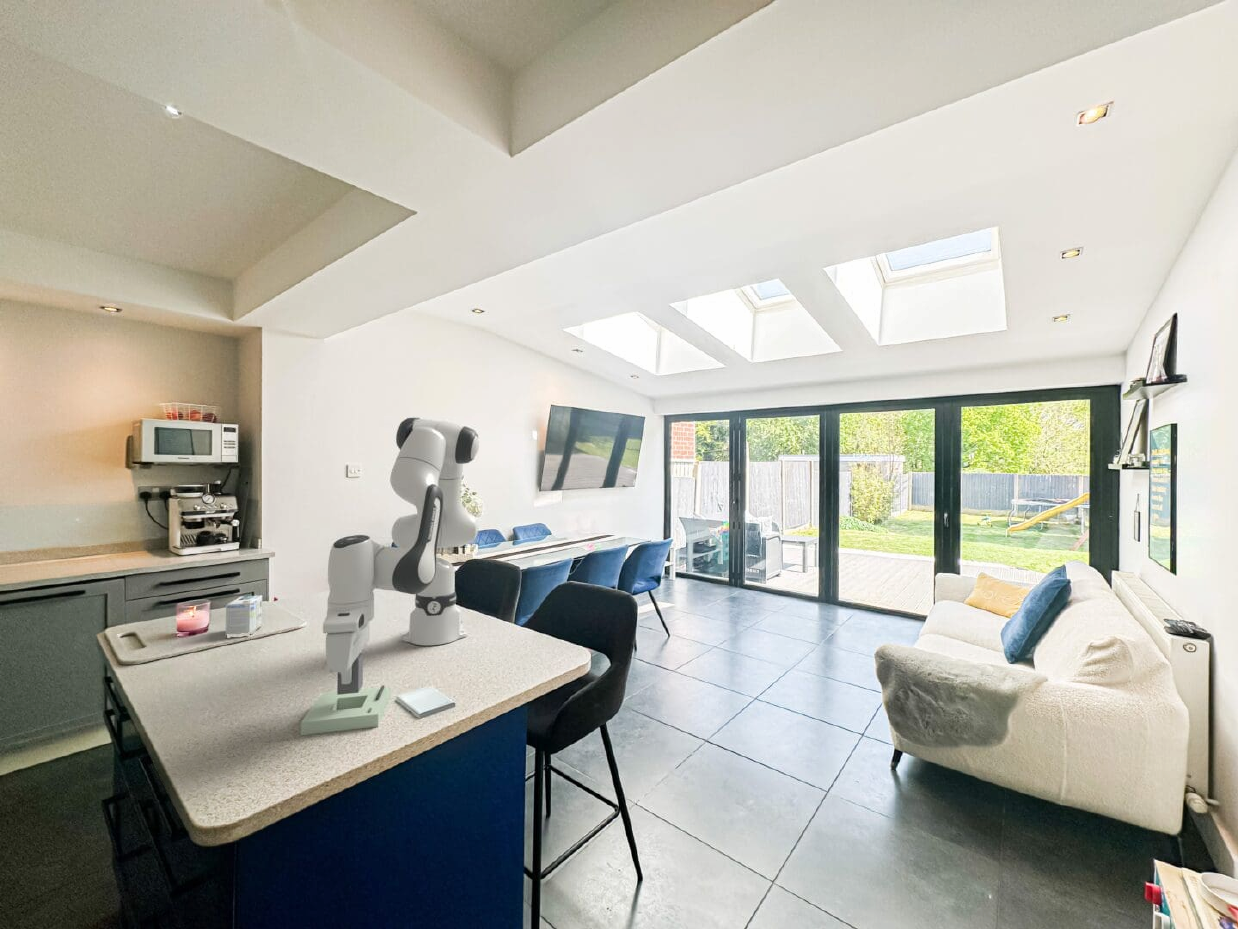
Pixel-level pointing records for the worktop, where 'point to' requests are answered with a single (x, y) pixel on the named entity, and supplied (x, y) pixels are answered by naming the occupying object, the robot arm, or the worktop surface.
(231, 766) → the worktop surface
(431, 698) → the hard drive
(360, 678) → the plug
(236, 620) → the light bulb box
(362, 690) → the outlet plate
